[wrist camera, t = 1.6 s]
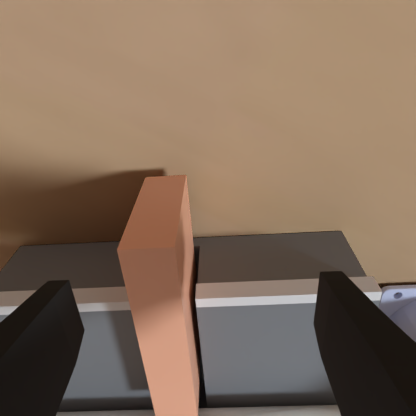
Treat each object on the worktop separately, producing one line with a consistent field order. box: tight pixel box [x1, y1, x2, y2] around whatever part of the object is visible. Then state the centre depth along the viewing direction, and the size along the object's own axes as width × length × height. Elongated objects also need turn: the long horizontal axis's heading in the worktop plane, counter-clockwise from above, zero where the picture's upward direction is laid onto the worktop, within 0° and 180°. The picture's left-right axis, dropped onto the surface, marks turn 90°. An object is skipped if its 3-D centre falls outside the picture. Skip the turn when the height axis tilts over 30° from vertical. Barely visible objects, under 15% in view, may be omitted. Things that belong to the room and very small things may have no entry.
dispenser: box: [0, 231, 382, 416], centre depth 20 cm, size 19×14×10 cm
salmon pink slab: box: [117, 175, 201, 416], centre depth 18 cm, size 2×10×6 cm, turn 4°
